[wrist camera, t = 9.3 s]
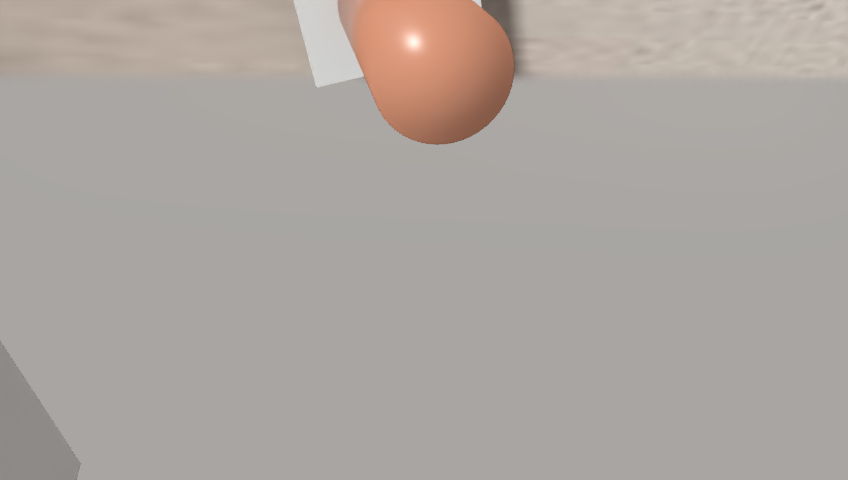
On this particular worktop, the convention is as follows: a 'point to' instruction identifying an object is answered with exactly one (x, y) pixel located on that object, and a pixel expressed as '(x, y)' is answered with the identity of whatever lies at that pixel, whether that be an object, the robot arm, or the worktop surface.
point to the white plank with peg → (414, 60)
